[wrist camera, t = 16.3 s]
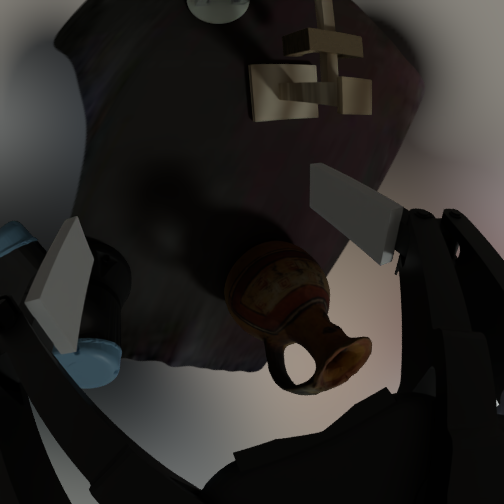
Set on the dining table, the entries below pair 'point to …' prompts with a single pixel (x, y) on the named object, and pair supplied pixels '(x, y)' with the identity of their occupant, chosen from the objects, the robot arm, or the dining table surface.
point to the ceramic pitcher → (292, 314)
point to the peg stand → (307, 84)
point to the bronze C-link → (322, 43)
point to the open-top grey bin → (206, 0)
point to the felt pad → (217, 11)
